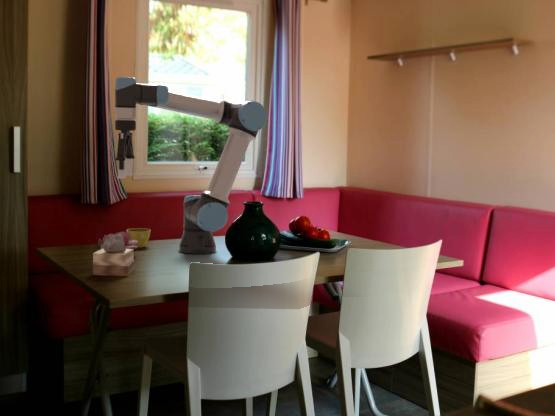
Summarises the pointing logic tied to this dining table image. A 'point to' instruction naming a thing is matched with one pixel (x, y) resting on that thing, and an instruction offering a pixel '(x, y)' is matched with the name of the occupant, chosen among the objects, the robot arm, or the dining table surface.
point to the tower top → (113, 257)
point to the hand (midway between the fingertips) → (125, 177)
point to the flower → (125, 237)
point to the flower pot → (139, 236)
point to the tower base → (114, 269)
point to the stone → (114, 244)
